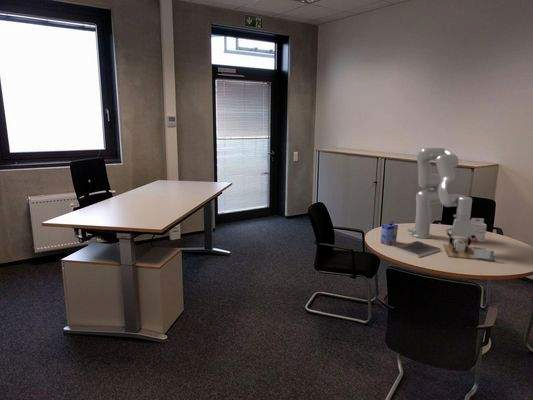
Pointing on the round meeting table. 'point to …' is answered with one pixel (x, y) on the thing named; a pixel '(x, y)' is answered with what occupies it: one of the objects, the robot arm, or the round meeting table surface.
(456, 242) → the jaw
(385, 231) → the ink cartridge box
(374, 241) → the round meeting table surface
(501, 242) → the round meeting table surface
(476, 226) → the ink cartridge box
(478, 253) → the gate
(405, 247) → the picture frame
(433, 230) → the round meeting table surface
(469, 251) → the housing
